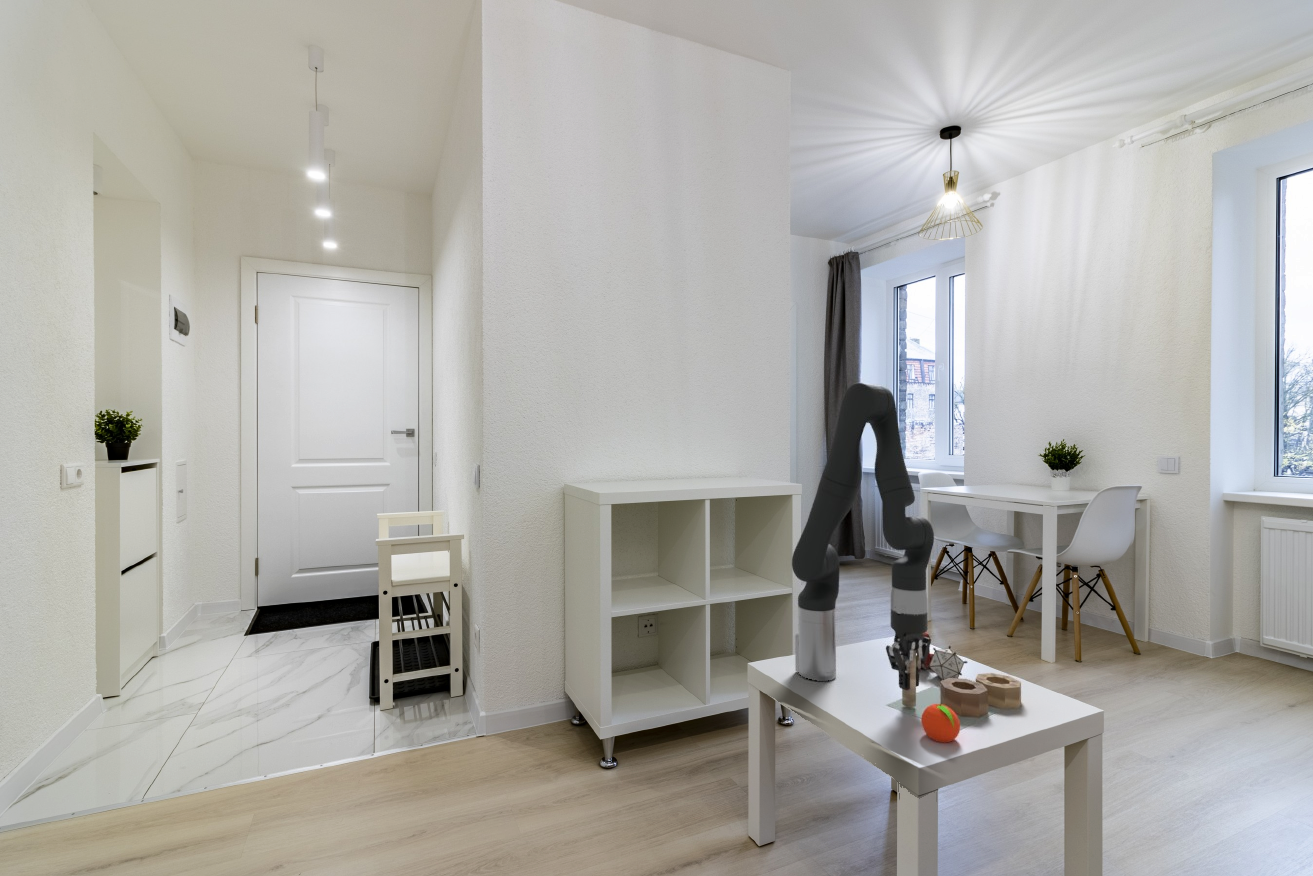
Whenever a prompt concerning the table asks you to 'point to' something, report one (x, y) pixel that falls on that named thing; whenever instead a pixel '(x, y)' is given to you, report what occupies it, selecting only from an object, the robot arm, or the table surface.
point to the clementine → (940, 723)
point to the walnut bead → (964, 697)
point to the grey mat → (933, 697)
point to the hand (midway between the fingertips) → (908, 686)
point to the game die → (946, 663)
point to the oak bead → (1001, 690)
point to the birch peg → (910, 694)
